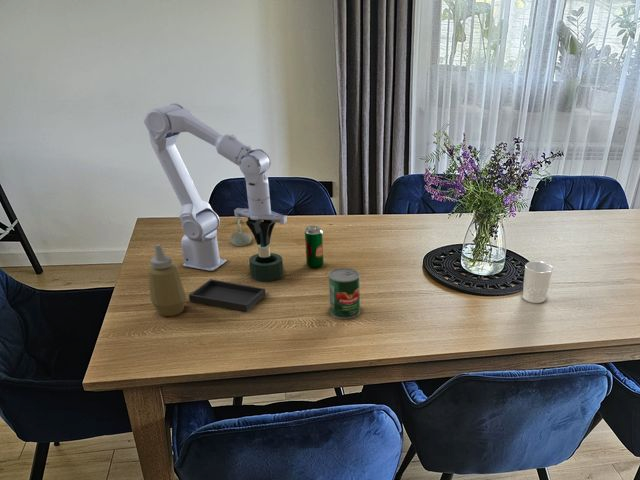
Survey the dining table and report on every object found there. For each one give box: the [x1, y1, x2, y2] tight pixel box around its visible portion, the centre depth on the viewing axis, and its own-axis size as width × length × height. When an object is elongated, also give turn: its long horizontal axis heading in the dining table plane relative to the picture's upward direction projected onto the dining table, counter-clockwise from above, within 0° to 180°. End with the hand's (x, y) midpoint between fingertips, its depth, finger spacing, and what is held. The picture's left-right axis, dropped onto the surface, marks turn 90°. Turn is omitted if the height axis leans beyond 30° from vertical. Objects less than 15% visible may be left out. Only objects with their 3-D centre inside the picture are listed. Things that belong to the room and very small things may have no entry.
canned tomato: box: [328, 267, 361, 320], centre depth 159 cm, size 8×8×11 cm
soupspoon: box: [229, 216, 252, 247], centre depth 200 cm, size 22×3×7 cm
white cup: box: [522, 260, 554, 304], centre depth 176 cm, size 8×8×10 cm
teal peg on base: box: [257, 231, 271, 258], centre depth 172 cm, size 3×3×7 cm
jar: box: [248, 252, 284, 283], centre depth 176 cm, size 9×9×5 cm
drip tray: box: [188, 278, 267, 313], centre depth 163 cm, size 16×10×2 cm, turn 78°
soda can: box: [304, 225, 325, 269], centre depth 182 cm, size 5×5×12 cm
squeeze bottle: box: [147, 243, 187, 317], centre depth 150 cm, size 8×8×18 cm
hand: (263, 244), depth 172 cm, fingers closed on teal peg on base
